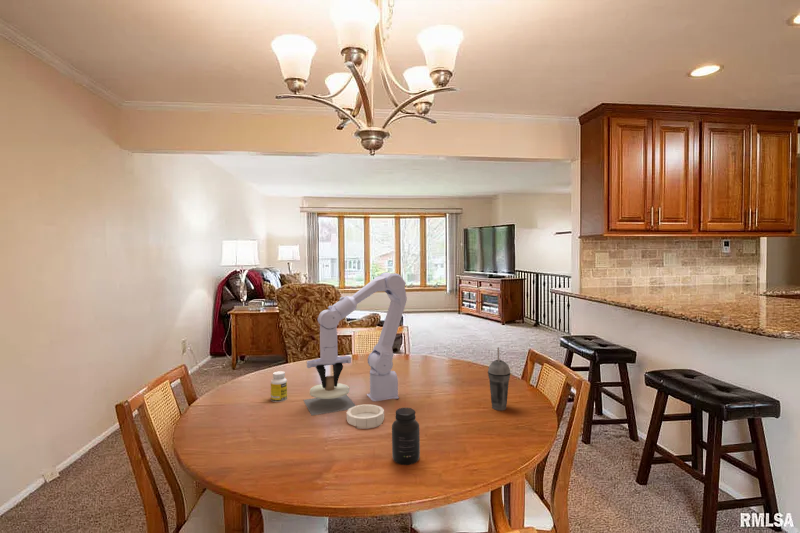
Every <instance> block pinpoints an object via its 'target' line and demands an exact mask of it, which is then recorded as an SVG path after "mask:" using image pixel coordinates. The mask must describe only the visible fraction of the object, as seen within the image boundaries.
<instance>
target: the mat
mask: <svg viewBox="0 0 800 533" xmlns="http://www.w3.org/2000/svg"><path fill="white" fill-rule="evenodd" d="M303 402H304V404H305V406H306V407H307V408H306V409H307V410H308V412H309V414H310V416H317V415H318V416H319V415H324V414H330V413H331V414H332V413H337V412H343V411H348V409H349V408H352V407H354V406H357V405H356V404H355V402H353V400H352V399H351V398H350V397H349V396H348V394H347V395H345V396H342V397H338V398H332V399H320V398H315V397H313V398H312V397H311V398H306V399H303Z"/></svg>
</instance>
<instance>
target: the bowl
mask: <svg viewBox="0 0 800 533" xmlns="http://www.w3.org/2000/svg"><path fill="white" fill-rule="evenodd" d="M384 420H385V409H384V408H383V407H382V406H380V405H377V404H370V403H369V404H367V403H366V404H357V405H356V406H354V407H352V408H349V409H348V410H346V421H347V423H348V424H349V425H351V426H354V427H355V429H358V430H359V429H360V430H362V429H364V430H367V429H373V428H378V427H379V426H381V425H383V423H384Z"/></svg>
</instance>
